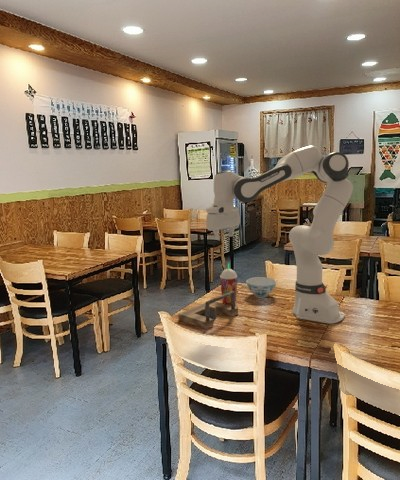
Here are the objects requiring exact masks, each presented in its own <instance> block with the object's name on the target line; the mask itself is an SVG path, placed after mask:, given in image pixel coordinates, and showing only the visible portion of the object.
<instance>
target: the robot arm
mask: <svg viewBox="0 0 400 480" xmlns="http://www.w3.org/2000/svg"><path fill="white" fill-rule="evenodd" d="M349 166H350V165H349V159H348V157H347V155H346V154H345V153H344V152H343V153H342V152H339V151H333V152H330V153H328V154H327V155H324V154H323V153H322V152H321V150H320V148H319V147H317V146H315V145H308V146H303V147H301V148H298V149H296V150H294V151H292V152H289V153H287V154H286V155H284V156H282V157H281V158H280V159H278V161H277V163H276V164H275V166H274V167H273V168H272V169H270V170H268V171H266V172H263V173H262V174H260V175H258V176H255V177H250V178H249V177H244V176H241V175H239V174H237V173H235V172H233V171H232V170H230V169H229V170H222V171H219V172H217V173H216V174H214V177H213V193H214V199H213V203H212V204H211V205H210V206H208V207H206V210H205V212H206V213H207V214H206V229H207V230H208V231H209V232H211V231H212V232H213V235H214V240H217V241H218V240H221V235H220V234H219V232H220V231H219V230H223V229H228V228H229V232H227V237H229V238H230V237H233V236H234V232H235V227H238V226H240V225H241V217H240V216H241V215H240V211H239V208H238V206H237V205H234V203H235V202H234V201H235V199H237V200H238V201H239V202H241V203H251V202H252V201H254V200H255V199H256V198H258V196H259V195H260V193H262V192H264V191H266V190H267V189H269V188H271V187H273V186H274V185H277V184H279V183H281V182H285V181H289V180H293V179H296V178H298V177H301V176H303V175H305V174H307V173H309V172H311V173H312V174H313V175H314V176H315V177H316V179H317V180H318V181H320V182H321V183H326V188H325V190H324V191H323V193H322V195H321V197H320V198H319V199H318V201H317V203H316V205H315V206H314V208H313V210H312V214H313V219H312V223H311V225H310V226H309V225H306V224H305V225H302V224H301V225H296V226H295V225H294V227H293V228H291V230H289V234H288V240H289V242H290V244H291V246H292V249H293V250H292V251H293V253H294V259H295V262H296V264H295V265H296V281H295V287H294V288H295V289H294V291H295V297H294V304H293V308H292V311H291V312H292V313H293V314H294V315H295V317H296V318H297V319H301V320H307V321H313V322H317V323H325V324H328V325H329V324H330V325H331V324H337V323H339V322H341V321H342V320H344V318H345V313H344V312H342V311H340V305H339V303H338V300H336V299H335V298H334V297H332V296H331V295H330V294H329V293H328V292H327V288H328V284H324V283H323V264H322V262H321V260H320V257H319V256H325V255H328V254H329V253H331V252H332V250H333V248H334V246H335V240H334V236H333V235H334V231H335V227H336V224H337V222H338V220H339V219H340V217H341V215H342V213H343V212H344V210H345V208H346V206H347V204H348V203H349V200H350V198H351V197H352V194H353V191H354V185H353V183H352V182H351V181H350V180H349V179H347V178H348V176H349Z"/></svg>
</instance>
